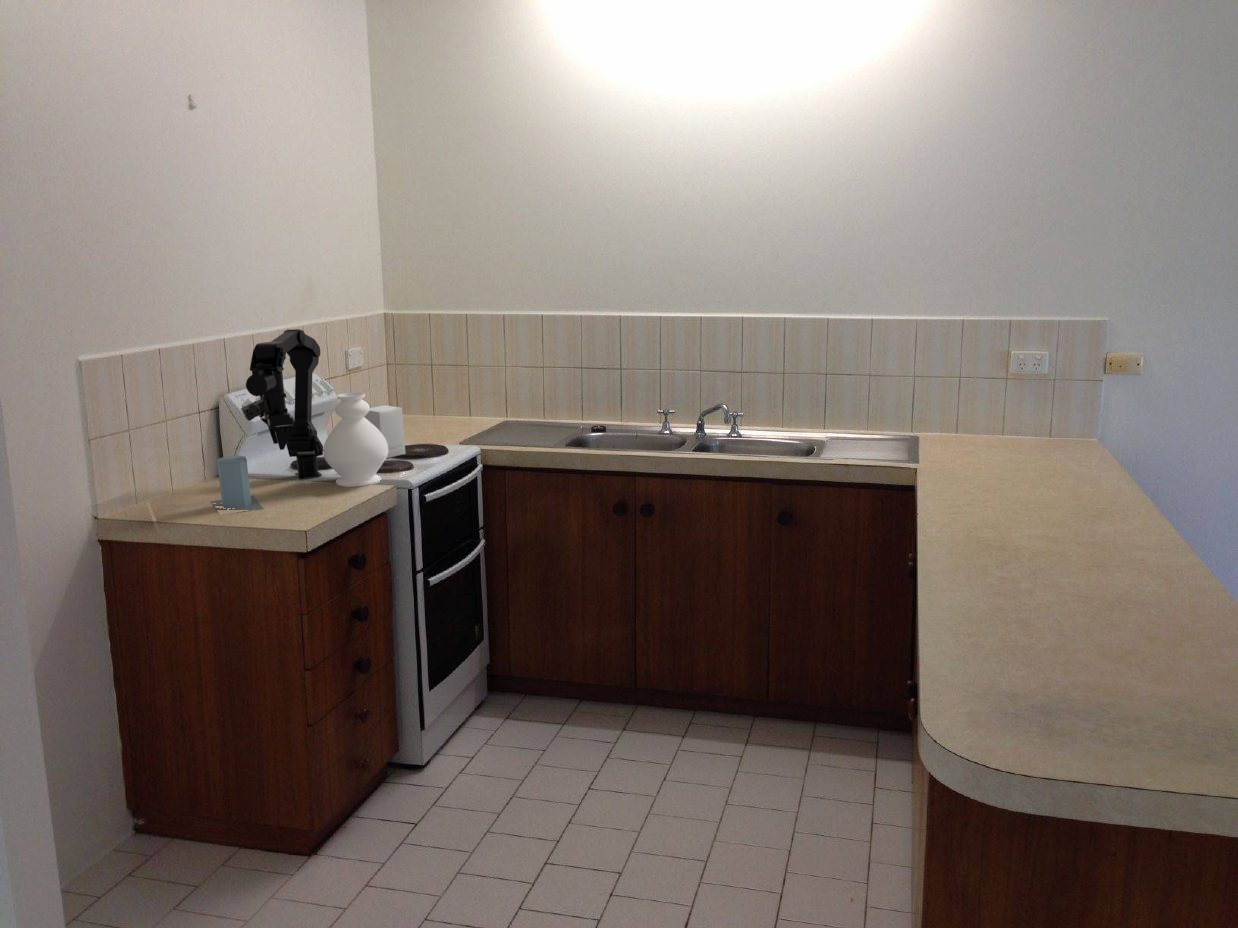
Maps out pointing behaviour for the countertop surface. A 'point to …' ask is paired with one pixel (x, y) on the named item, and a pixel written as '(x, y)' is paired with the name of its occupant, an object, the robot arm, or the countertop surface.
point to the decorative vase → (355, 443)
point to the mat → (253, 506)
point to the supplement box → (389, 427)
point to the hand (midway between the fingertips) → (278, 446)
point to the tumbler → (234, 481)
